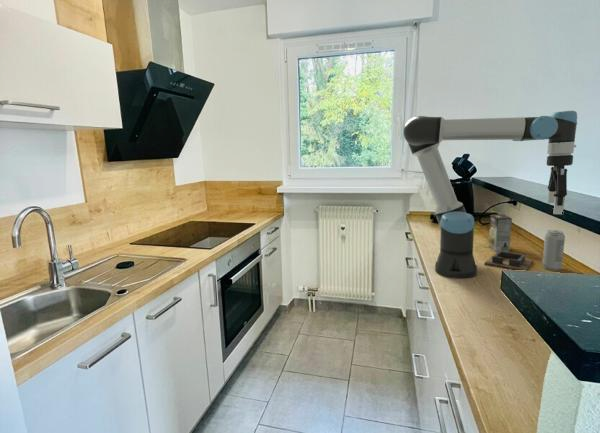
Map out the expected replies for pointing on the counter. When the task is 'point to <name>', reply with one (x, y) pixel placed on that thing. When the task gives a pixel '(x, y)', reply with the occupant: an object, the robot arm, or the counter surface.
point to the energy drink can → (553, 250)
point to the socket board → (509, 261)
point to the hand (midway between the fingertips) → (554, 210)
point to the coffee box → (500, 232)
